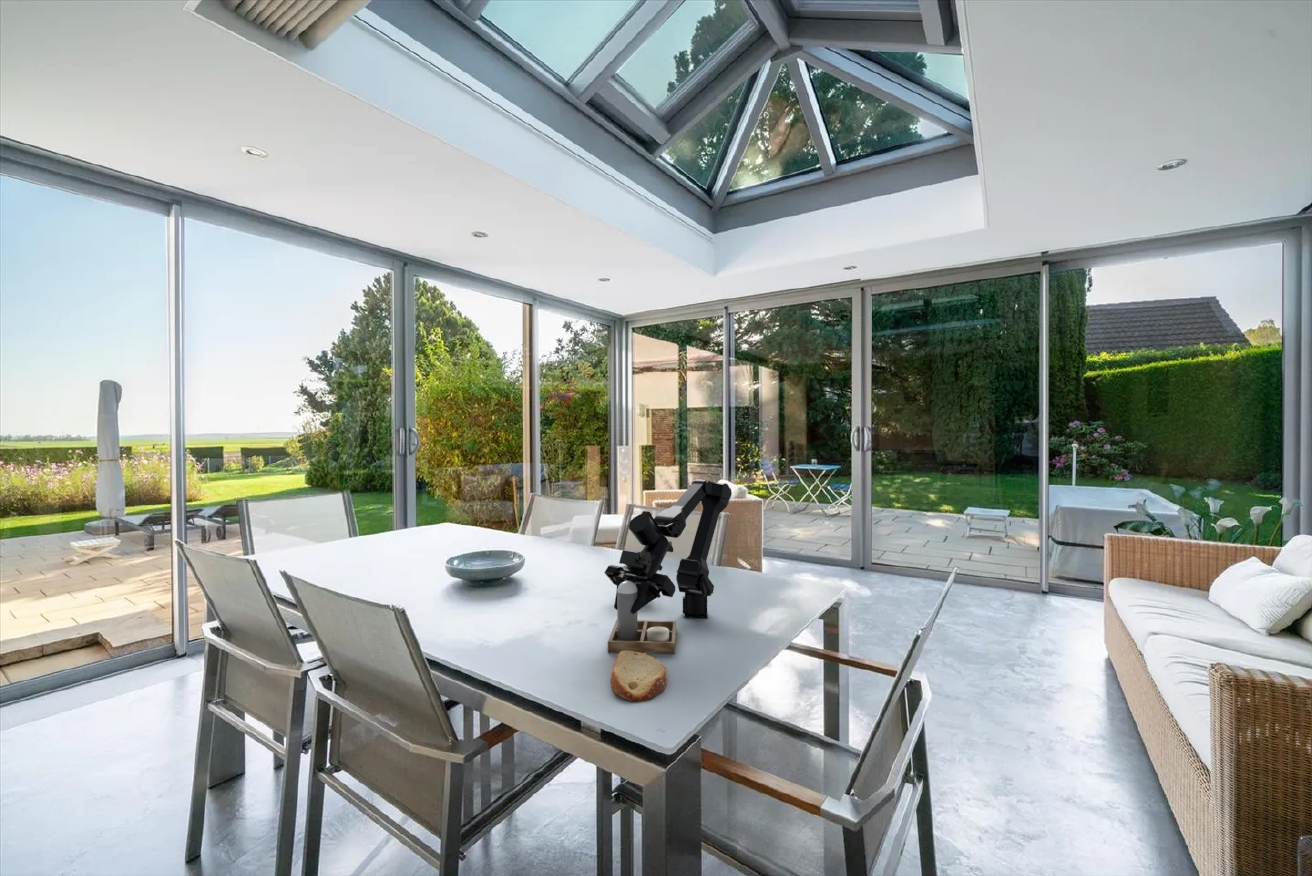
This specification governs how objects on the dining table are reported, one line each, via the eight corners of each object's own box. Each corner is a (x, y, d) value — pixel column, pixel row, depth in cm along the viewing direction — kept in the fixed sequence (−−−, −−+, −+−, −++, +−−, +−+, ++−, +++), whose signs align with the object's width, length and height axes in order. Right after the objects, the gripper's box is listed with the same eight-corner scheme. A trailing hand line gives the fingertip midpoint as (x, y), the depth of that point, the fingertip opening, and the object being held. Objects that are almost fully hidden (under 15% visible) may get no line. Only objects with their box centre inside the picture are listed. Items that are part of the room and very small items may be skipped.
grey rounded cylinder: (634, 632, 139) (634, 577, 139) (639, 639, 134) (639, 582, 134) (615, 634, 138) (615, 579, 137) (619, 641, 133) (619, 584, 133)
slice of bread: (629, 656, 131) (629, 639, 131) (693, 676, 120) (693, 659, 120) (572, 682, 117) (572, 664, 117) (639, 708, 106) (639, 688, 106)
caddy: (676, 630, 147) (676, 615, 147) (674, 654, 131) (674, 636, 131) (616, 629, 148) (616, 614, 148) (607, 652, 132) (607, 635, 132)
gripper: (609, 533, 145) (578, 585, 136) (668, 541, 133) (638, 599, 125) (629, 558, 151) (601, 610, 142) (687, 568, 140) (660, 625, 131)
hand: (623, 610), depth 135 cm, fingers closed on grey rounded cylinder, 5 cm apart
